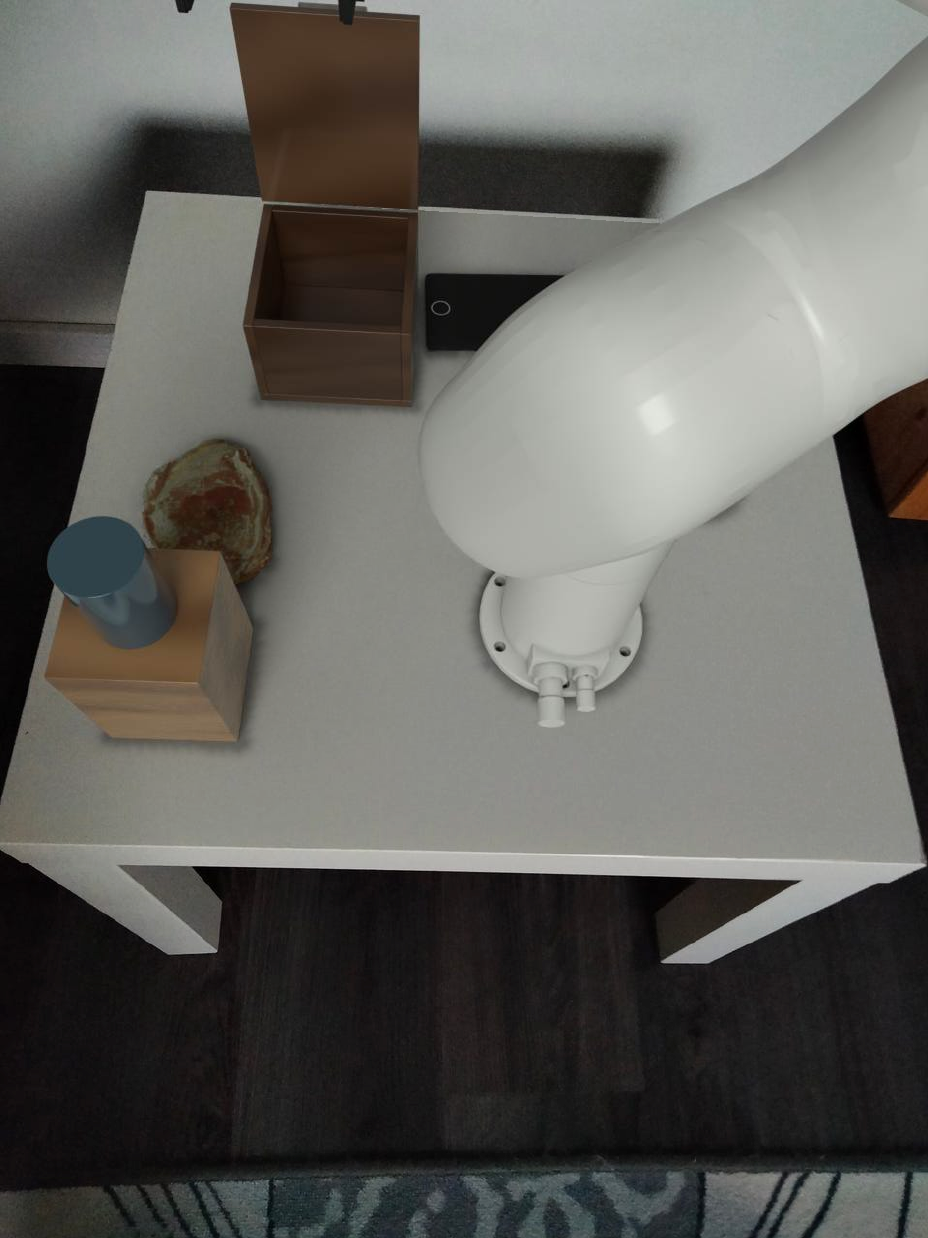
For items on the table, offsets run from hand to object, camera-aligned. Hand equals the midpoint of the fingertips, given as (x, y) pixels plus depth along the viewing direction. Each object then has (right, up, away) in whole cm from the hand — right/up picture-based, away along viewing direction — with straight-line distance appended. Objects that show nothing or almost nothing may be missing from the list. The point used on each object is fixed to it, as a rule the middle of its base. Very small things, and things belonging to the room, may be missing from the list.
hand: (269, 5), depth 51 cm
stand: (-9, -42, +11) cm, 44 cm away
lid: (+2, +1, +13) cm, 14 cm away
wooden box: (+1, -12, +25) cm, 28 cm away
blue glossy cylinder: (-8, -37, 0) cm, 38 cm away
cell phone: (+17, -9, +28) cm, 34 cm away
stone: (-9, -29, +17) cm, 35 cm away
